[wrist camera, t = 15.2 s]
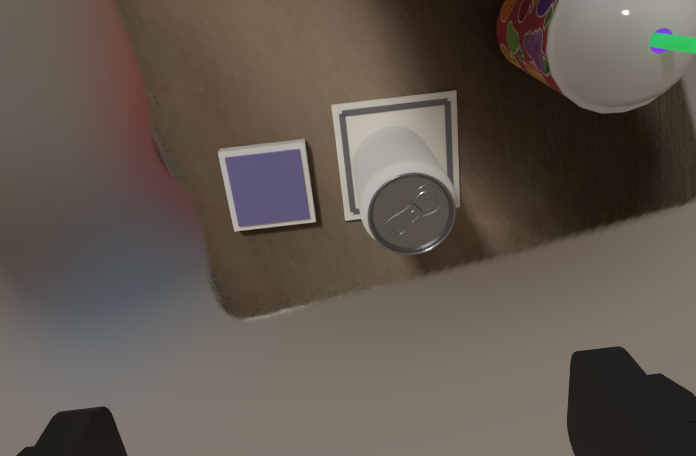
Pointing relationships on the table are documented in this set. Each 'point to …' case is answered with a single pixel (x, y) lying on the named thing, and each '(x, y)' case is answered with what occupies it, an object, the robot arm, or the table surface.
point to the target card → (407, 111)
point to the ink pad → (268, 184)
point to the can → (402, 191)
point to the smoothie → (601, 47)
